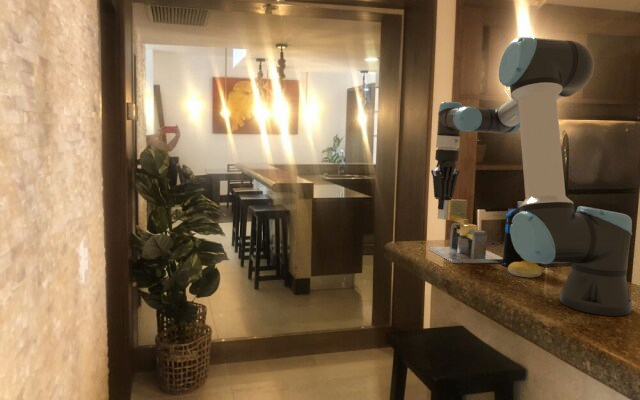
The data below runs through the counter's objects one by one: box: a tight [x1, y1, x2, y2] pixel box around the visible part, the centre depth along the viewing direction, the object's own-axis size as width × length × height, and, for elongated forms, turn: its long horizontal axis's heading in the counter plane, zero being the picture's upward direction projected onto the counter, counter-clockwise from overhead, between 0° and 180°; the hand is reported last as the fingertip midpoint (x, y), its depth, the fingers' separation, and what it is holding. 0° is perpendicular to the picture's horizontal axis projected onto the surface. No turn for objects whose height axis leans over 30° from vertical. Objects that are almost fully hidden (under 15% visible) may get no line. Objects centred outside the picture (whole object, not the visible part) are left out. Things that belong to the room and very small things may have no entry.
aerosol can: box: [501, 201, 524, 268], centre depth 163 cm, size 8×8×20 cm
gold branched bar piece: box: [446, 199, 478, 239], centre depth 176 cm, size 6×18×11 cm, turn 9°
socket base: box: [429, 222, 503, 264], centre depth 174 cm, size 18×18×10 cm
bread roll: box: [507, 260, 542, 279], centre depth 154 cm, size 8×9×4 cm
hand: (441, 218), depth 181 cm, fingers closed
